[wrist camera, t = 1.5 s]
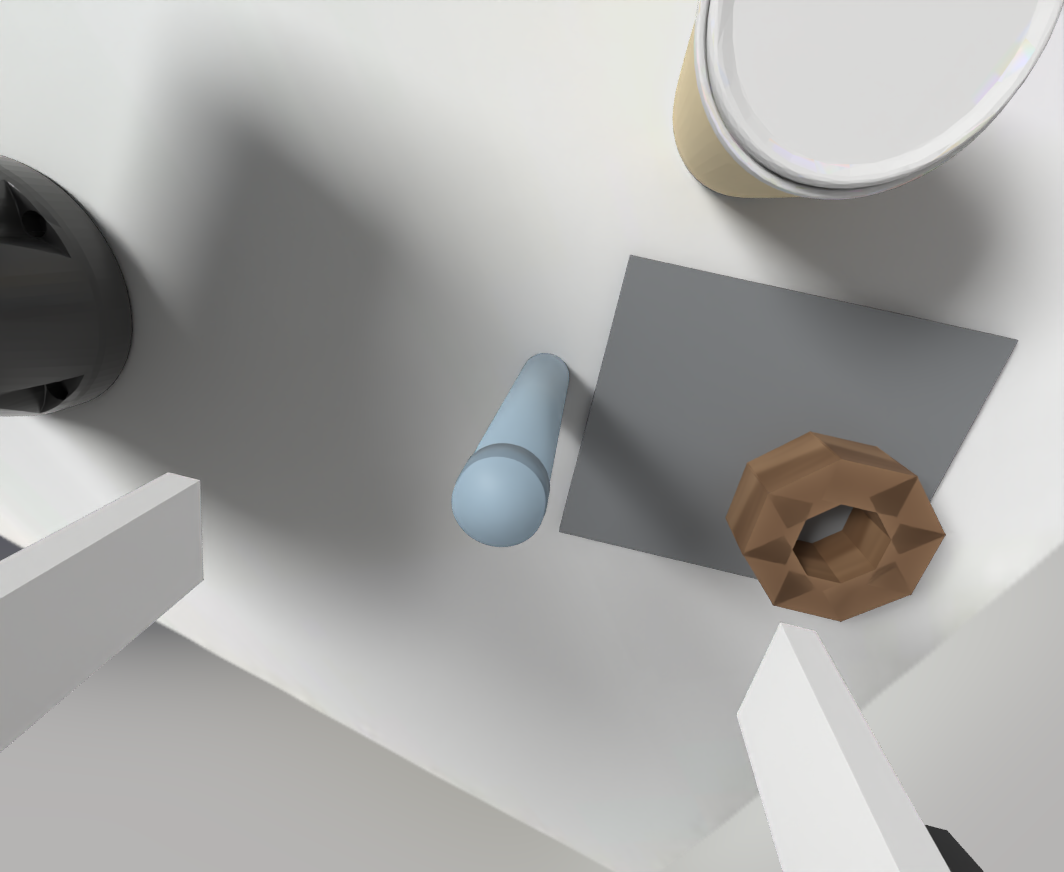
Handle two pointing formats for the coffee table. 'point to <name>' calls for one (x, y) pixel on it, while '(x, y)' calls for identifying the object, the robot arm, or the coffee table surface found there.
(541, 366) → the blue rounded-end rod
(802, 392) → the mat
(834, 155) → the coffee cup
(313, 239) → the coffee table surface
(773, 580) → the bead
